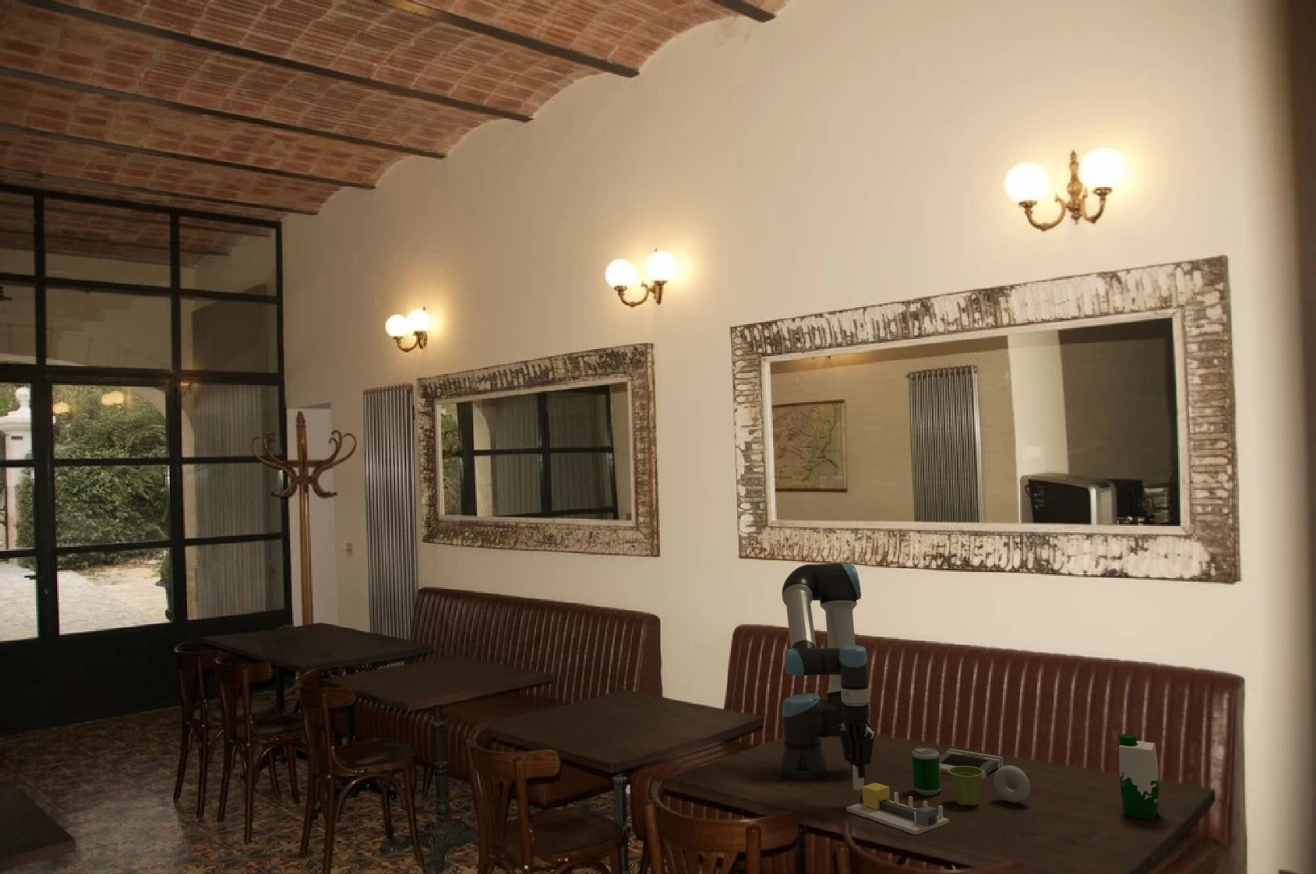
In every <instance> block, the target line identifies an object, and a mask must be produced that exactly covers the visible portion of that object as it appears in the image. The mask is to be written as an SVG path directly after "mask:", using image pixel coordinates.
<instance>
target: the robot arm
mask: <svg viewBox="0 0 1316 874" xmlns="http://www.w3.org/2000/svg"><path fill="white" fill-rule="evenodd" d="M856 568H857V567H855V565H853V564H852V563H841V562H839V563H838V562H837V563H835V562H834V563H820V564H819V563H816V564H815V563H810V564H809V563H808V564H803V565H801V566H799V567H797V568H795V569H793V571H791V573H789V575H788V576H787V578H786V579H785V580H784V582H783V585H782V589H781V596H782V597H781V598H782V602H783V604H784V605H785V606H786V614H787V615H786V616H787V625H788V632H789V634H788V635H789V643H790V644H789V645H790V648H789V649H786V650H785V652H784V655H785V656H784V657H785V659H784V660H785V661H784V662H785V672H786V674H787V675H789V676H799V677H803V676H829V682H830V683H829V684H830V687H829V688H828V690H827V691H826V692H825V698H821V696H820V695H819V694H818V693H815V692H813V693H812V692H806V693H798V694H794V695H792V696H789V697H787V698H785V699H784V700H783V702H782V705H781V706H782V709H781V710H782V711H781V717H782V730H783V731H782V733H783V738H782V739H783V749H782V753H781V757H780V761H779V763H778V773H779V774H780V775H781V776H782V777H784V778H788V779H792V780H793V779H795V780H814V779H816V780H817V779H819V778H820V779H821V778H823V777H826V776H827V775H828V774H829V763H828V762H827V758H826V755H825V752H824V750H823V746H822V745H823V744H822V743H823V742H822V739H832V738H833V739H840V742H841V748H842V750H843V751H842V752H843V756H844V760H845V762H849V765H850V774H851V776H852V789H853V790H855V791H859V790H862V787H863V786H865V778H866V769H865V768H866V766H867V765H870V764H871V762H872V755H873V749H874V748H873V747H874V742H875V741H874V740H875V738H876V737H877V732H876V731H875V730H872V729H871V728H870V718H871V700H870V698H869V695H870V694H869V682H868V681H869V679H868V655H867V649H866V647H864V646H861V645H858V644H857V645H856V640H855V639H856V638H855V636H856V635H855V623H854V609H855V608H856V606H857V605H858V601H859V600H861V597H862V591H861V583H860V576H859V575H858V571H857V569H856ZM813 601H814V602H815V601H819V606H820V608H821V609H823V610H824V612H825V622H826V623H825V625H826V636H827V638H826V639H827V640H826V641H827V648H825V647H824V648H821V647H820V648H819V647H818V648H817V642H816V634H815V627H814V620H813V611H812V605H811V604H812V602H813Z"/></svg>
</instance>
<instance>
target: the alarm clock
mask: <svg viewBox="0 0 1316 874" xmlns="http://www.w3.org/2000/svg"><path fill="white" fill-rule="evenodd" d="M939 759H940V774H944V773H945V775H950V773H949V772H948V769H949V768H952V767H956V766H971V767H976V768H980V769H982V770H983V771H984V774H983V775H982V779H983V780H984V779H986V778H987V775H988V774H989V773H991V772H992V771H994V770H996V769H999V768H1000V767H1003V766H1004V756H998V755H993V754H985V753H980V752H973V751H967V750H966V751H965V750H961V749H954V748H948V749H947V750H946V751H945V753H943V754H941V755H939Z"/></svg>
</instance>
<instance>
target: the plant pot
mask: <svg viewBox="0 0 1316 874" xmlns="http://www.w3.org/2000/svg"><path fill="white" fill-rule="evenodd" d="M948 772H949V773H950V774H949V776H950V779H951V782H952V783H951V784H952V788H953V792H954V794H953V795H954V798H955V803H956V804H958V805H961V806H967V805H968V806H970V807H971V806H973V807H974V806H978V805H979V803H980V798H981V797H980V793H981V784H982V780H981V779H982V775H983V774H984V771H983V770H982V769H980V768H976V767H971V766H956V767H952V768H949V769H948Z"/></svg>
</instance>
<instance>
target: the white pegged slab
mask: <svg viewBox="0 0 1316 874" xmlns="http://www.w3.org/2000/svg"><path fill="white" fill-rule="evenodd" d="M893 794H894V795H893V797H894V801H893V800H890V801H887V800H882V801H879V809H878V810H877V809H874V808H871V807H868V806H865V805H863V794H860V795H859V803H856V804H852V805H849V806H846V807H845V808H846V810H845V811H846V812H849V813H851V814H854V815H856V816H857V815H858V816H860V817H864V818H866V817H867V818H866V819H868V818H870V819H869V820H871V819H872V821H874V822H877V821H878V822H877V823H881V824H883V825H886V826H889V827H892V828H895V829H896V830H897V829H898V830H901V831H903V830H904V831H903V832H906V833H909V834H912V835H915V836H917V835H919V834H922V833H924V832H929V831H930V830H933V829H936V828H939V827H942V826H944V825H948V824H949V823H950V818H947V817H944V807H943V805H938V808H936V807H933V806H929V805H928V804H929V803H928V801H927V800H924V801H922V805H923V806H922V807H918V808H915V807H914V797H913V796H911V795H910V796H908V798H907V799H908V805H906V804H903V803H900V799H899V796H900V795H899V792H898V791H894V792H893ZM947 823H948V824H947ZM938 826H939V827H938ZM916 834H917V835H916Z"/></svg>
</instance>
